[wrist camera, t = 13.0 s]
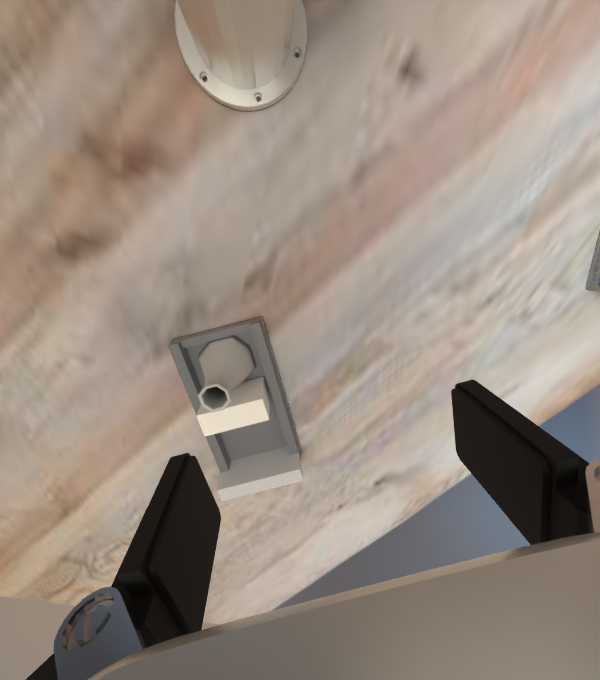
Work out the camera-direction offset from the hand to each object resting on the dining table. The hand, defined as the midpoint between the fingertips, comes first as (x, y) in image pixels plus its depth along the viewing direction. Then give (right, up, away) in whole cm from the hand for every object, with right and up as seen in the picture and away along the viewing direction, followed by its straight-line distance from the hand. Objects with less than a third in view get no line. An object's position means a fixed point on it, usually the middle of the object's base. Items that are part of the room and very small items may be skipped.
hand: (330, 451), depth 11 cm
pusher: (-10, -3, +31) cm, 33 cm away
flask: (-11, +1, +30) cm, 32 cm away
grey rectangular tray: (-9, -4, +33) cm, 34 cm away
